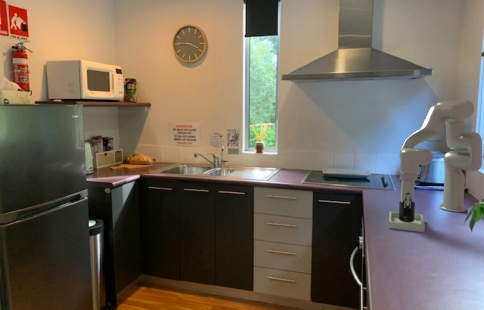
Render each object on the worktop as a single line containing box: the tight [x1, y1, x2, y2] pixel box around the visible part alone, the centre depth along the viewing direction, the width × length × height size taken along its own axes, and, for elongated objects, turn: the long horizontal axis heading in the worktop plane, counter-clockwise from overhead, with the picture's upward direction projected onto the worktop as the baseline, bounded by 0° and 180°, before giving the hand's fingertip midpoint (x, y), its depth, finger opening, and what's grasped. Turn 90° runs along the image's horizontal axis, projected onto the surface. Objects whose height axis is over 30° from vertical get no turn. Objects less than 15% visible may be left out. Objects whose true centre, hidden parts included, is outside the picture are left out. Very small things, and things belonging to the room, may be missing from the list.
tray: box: [388, 211, 426, 233], centre depth 171 cm, size 18×15×3 cm
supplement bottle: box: [398, 194, 416, 222], centre depth 170 cm, size 7×7×12 cm
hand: (406, 213), depth 171 cm, fingers closed on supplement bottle, 6 cm apart
